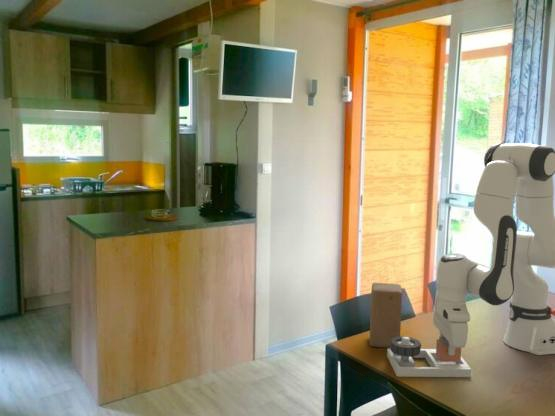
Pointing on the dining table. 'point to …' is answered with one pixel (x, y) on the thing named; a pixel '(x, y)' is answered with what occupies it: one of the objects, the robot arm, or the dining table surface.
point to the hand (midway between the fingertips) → (447, 350)
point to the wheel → (405, 347)
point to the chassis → (438, 368)
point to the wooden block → (385, 314)
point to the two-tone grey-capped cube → (442, 351)
